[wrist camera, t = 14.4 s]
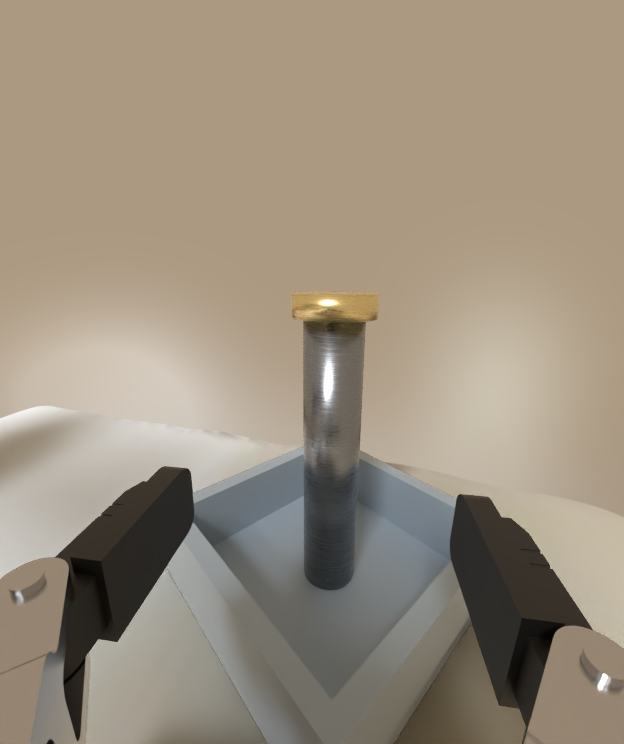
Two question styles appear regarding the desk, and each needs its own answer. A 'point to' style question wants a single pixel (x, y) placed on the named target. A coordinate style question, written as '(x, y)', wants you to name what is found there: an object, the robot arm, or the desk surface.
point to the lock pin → (332, 427)
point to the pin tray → (324, 602)
